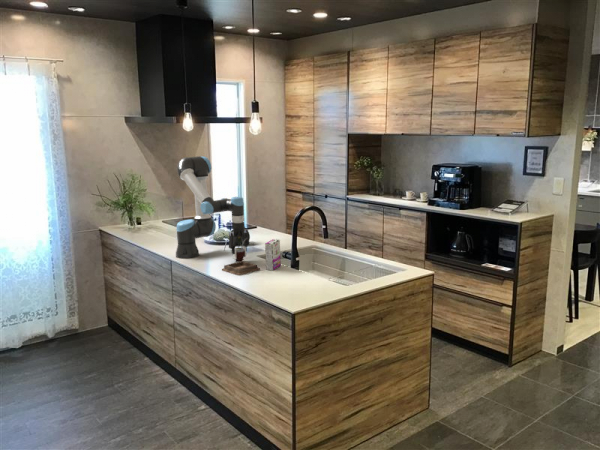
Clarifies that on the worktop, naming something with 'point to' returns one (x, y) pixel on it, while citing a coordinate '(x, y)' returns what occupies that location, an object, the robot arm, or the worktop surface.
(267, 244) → the candy bar box
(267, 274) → the worktop surface
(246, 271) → the holder board
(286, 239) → the worktop surface
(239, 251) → the mate gourd
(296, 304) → the worktop surface
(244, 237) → the squash
